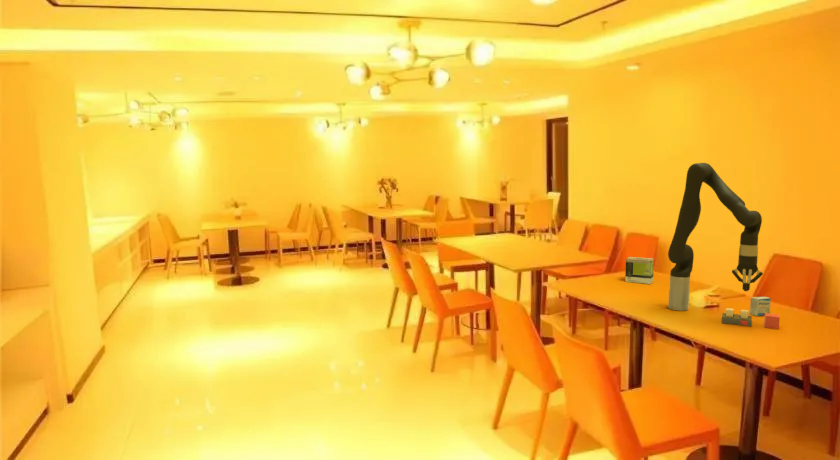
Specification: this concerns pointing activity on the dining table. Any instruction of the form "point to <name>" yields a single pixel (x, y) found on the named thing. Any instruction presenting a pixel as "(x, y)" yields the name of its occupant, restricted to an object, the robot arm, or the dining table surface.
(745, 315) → the breaker tagged
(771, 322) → the red block
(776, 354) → the dining table surface
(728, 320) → the breaker panel
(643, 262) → the tea box
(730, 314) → the breaker plain
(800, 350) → the dining table surface
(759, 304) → the medicine box
